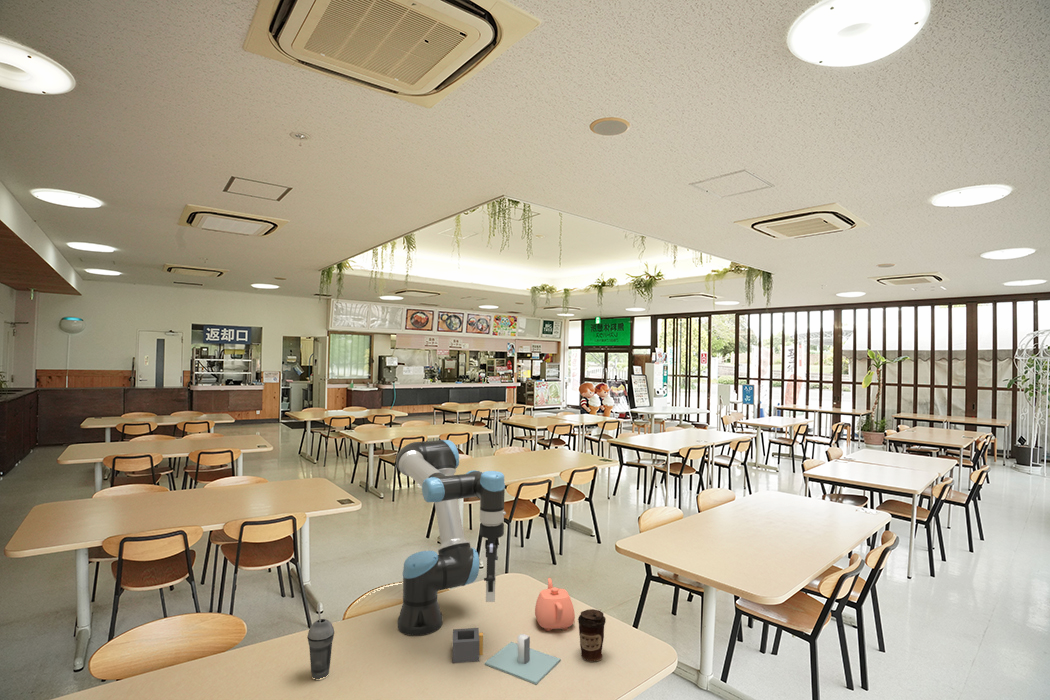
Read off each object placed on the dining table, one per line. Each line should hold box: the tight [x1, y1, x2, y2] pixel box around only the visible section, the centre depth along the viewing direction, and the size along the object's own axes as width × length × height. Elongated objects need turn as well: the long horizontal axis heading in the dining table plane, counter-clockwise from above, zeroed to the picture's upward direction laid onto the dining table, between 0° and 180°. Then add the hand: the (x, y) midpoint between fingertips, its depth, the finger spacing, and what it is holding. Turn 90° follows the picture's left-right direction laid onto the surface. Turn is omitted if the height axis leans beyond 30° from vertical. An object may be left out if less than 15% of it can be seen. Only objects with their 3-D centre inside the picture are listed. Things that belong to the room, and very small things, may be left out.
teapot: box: [534, 577, 576, 632], centre depth 179 cm, size 13×20×12 cm, turn 8°
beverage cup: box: [306, 603, 335, 679], centre depth 149 cm, size 7×7×20 cm
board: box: [484, 633, 562, 685], centre depth 155 cm, size 18×14×8 cm
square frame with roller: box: [452, 627, 484, 664], centre depth 160 cm, size 9×8×6 cm
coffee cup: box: [577, 608, 606, 663], centre depth 159 cm, size 9×8×13 cm
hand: (490, 591), depth 162 cm, fingers open, 13 cm apart
